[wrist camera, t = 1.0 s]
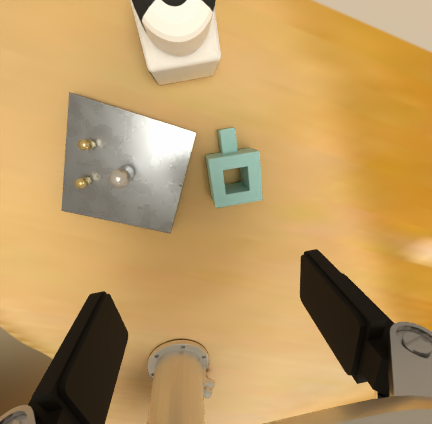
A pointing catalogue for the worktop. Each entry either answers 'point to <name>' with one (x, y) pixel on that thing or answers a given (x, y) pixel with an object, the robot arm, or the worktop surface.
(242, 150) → the teal hollow square block
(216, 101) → the worktop surface
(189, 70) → the medicine bottle
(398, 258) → the worktop surface
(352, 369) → the robot arm
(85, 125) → the post base
